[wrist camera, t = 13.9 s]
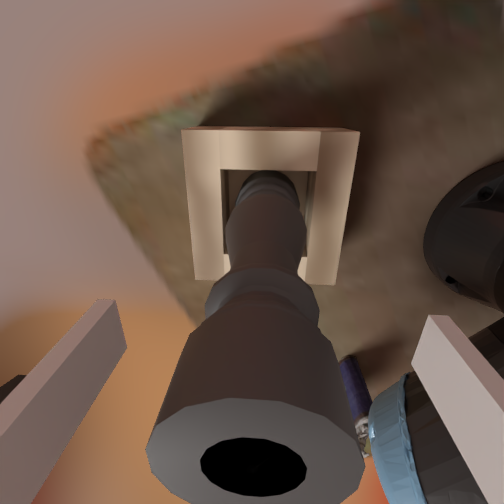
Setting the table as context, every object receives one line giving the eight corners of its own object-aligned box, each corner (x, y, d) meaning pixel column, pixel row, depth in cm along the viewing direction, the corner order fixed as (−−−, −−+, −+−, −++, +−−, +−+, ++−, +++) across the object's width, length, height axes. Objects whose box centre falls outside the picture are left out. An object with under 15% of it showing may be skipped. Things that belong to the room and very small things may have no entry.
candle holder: (300, 222, 31) (375, 524, 8) (244, 230, 31) (176, 525, 9) (293, 164, 28) (376, 378, 6) (232, 174, 29) (96, 399, 7)
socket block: (342, 127, 27) (360, 132, 22) (324, 257, 33) (334, 285, 28) (198, 125, 28) (181, 129, 23) (207, 253, 34) (195, 279, 29)
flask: (342, 398, 44) (361, 477, 35) (323, 395, 44) (338, 474, 35) (360, 356, 40) (388, 432, 31) (340, 353, 40) (362, 428, 31)
